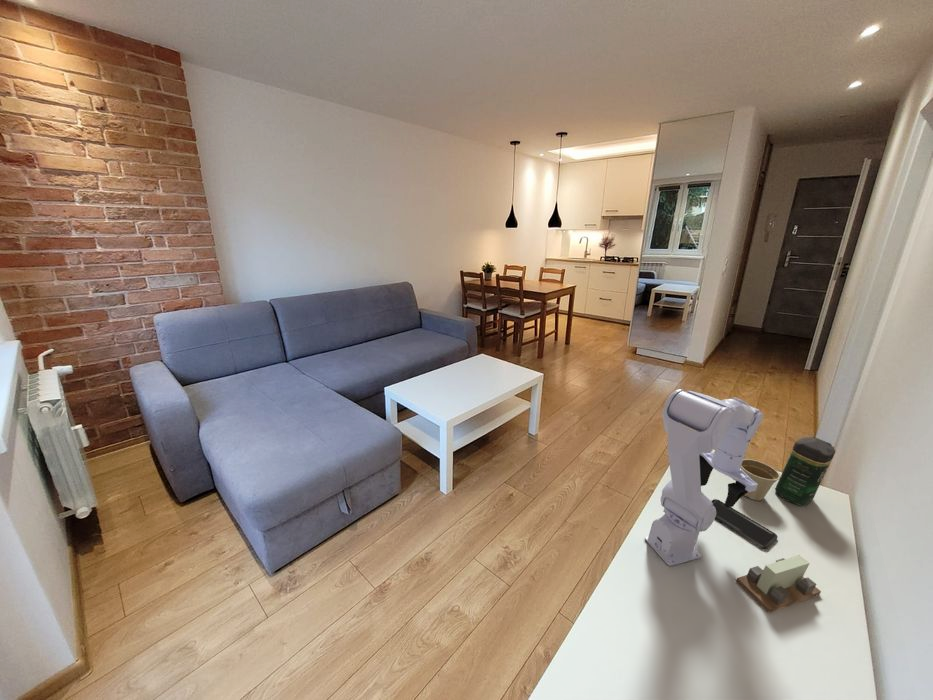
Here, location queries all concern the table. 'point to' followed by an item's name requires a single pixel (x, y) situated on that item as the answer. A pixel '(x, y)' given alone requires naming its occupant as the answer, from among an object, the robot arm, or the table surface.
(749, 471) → the flower pot
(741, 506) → the table surface
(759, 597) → the rail
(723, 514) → the phone
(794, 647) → the table surface
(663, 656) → the table surface
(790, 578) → the door panel
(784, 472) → the coffee jar
